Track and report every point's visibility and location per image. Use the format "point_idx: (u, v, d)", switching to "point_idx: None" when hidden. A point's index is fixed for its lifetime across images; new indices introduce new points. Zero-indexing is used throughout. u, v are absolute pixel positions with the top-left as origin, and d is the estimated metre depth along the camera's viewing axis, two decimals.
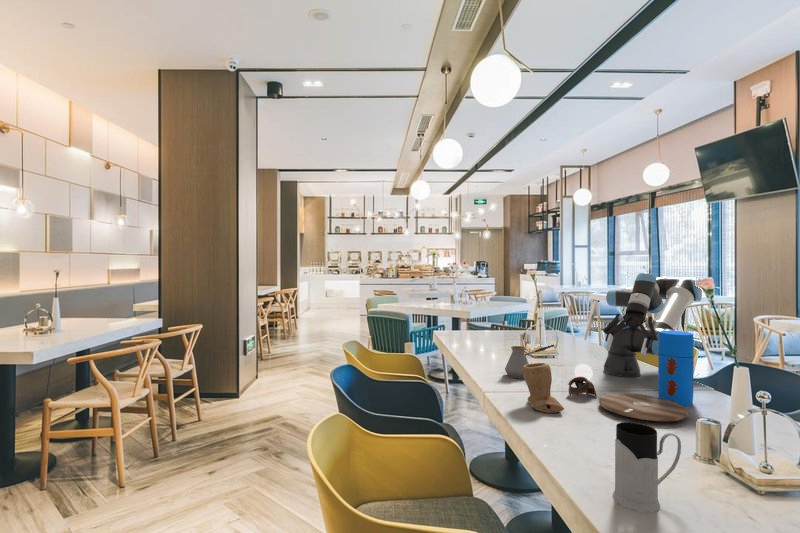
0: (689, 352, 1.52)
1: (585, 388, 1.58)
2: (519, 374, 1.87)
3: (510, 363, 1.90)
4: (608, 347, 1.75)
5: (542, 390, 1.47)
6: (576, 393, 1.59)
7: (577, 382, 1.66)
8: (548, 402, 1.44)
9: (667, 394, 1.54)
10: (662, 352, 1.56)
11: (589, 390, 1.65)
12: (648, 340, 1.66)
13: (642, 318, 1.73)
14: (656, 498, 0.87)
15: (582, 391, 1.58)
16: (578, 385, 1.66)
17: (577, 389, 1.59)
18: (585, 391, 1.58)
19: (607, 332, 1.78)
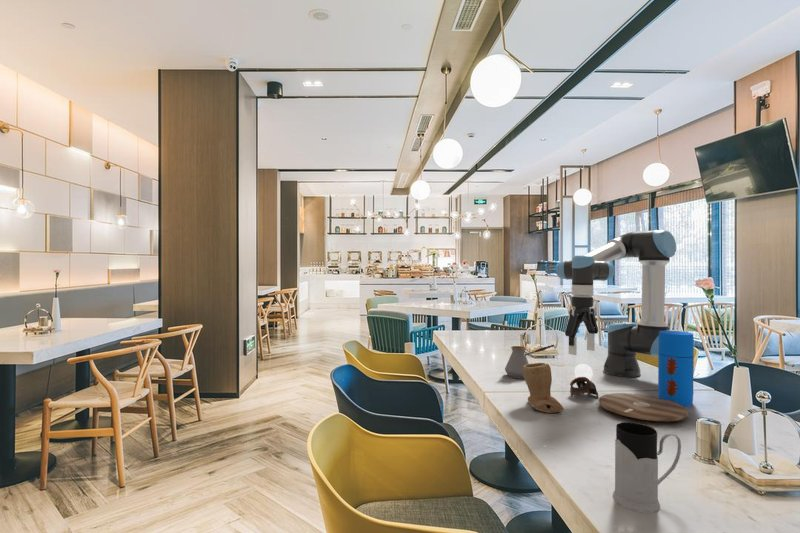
0: (689, 352, 1.52)
1: (587, 388, 1.58)
2: (519, 374, 1.87)
3: (510, 363, 1.90)
4: (590, 348, 1.68)
5: (542, 390, 1.47)
6: (578, 393, 1.59)
7: (579, 382, 1.66)
8: (548, 402, 1.44)
9: (667, 394, 1.54)
10: (662, 352, 1.56)
11: (591, 390, 1.64)
12: None
13: None
14: (656, 498, 0.87)
15: (584, 391, 1.58)
16: (579, 385, 1.66)
17: (579, 389, 1.59)
18: (587, 391, 1.58)
19: None
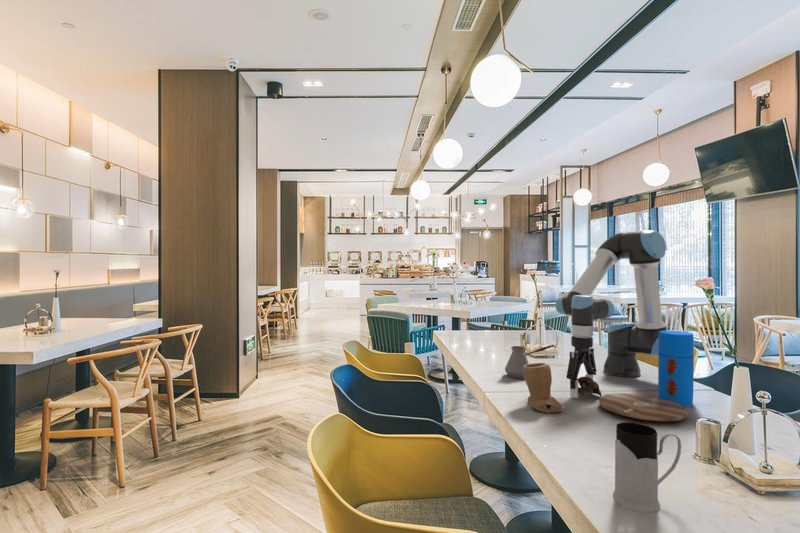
0: (689, 352, 1.52)
1: (590, 388, 1.58)
2: (519, 374, 1.87)
3: (510, 363, 1.90)
4: None
5: (542, 390, 1.47)
6: (581, 393, 1.58)
7: (581, 382, 1.65)
8: (548, 402, 1.44)
9: (667, 394, 1.54)
10: (662, 352, 1.56)
11: (593, 390, 1.64)
12: None
13: None
14: (656, 498, 0.87)
15: (587, 391, 1.57)
16: (582, 385, 1.66)
17: (582, 389, 1.58)
18: (590, 391, 1.57)
19: None
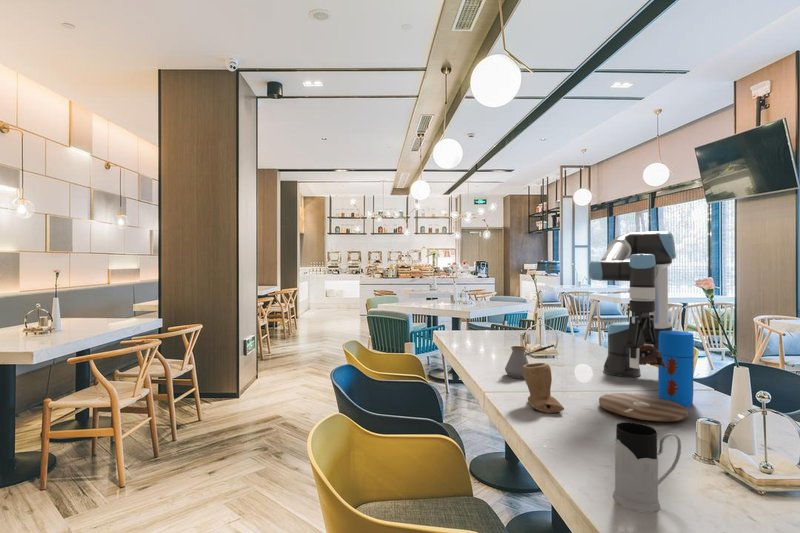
0: (689, 352, 1.52)
1: (654, 357, 1.39)
2: (519, 374, 1.87)
3: (510, 363, 1.90)
4: None
5: (542, 390, 1.47)
6: (643, 363, 1.40)
7: (640, 352, 1.47)
8: (548, 402, 1.44)
9: (667, 394, 1.54)
10: (662, 352, 1.56)
11: None
12: None
13: None
14: (656, 498, 0.87)
15: (651, 360, 1.39)
16: (641, 355, 1.48)
17: (645, 358, 1.40)
18: (654, 360, 1.39)
19: None
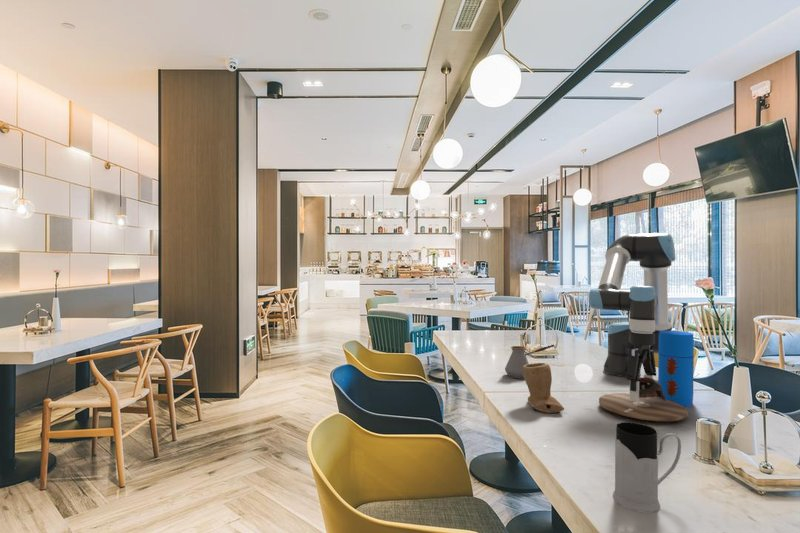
0: (689, 352, 1.52)
1: (654, 390, 1.39)
2: (519, 374, 1.87)
3: (510, 363, 1.90)
4: None
5: (542, 390, 1.47)
6: (643, 396, 1.40)
7: (640, 383, 1.47)
8: (548, 402, 1.44)
9: (667, 394, 1.54)
10: (662, 352, 1.56)
11: None
12: None
13: None
14: (656, 498, 0.87)
15: (651, 394, 1.39)
16: (641, 387, 1.47)
17: (645, 392, 1.40)
18: (654, 394, 1.39)
19: None
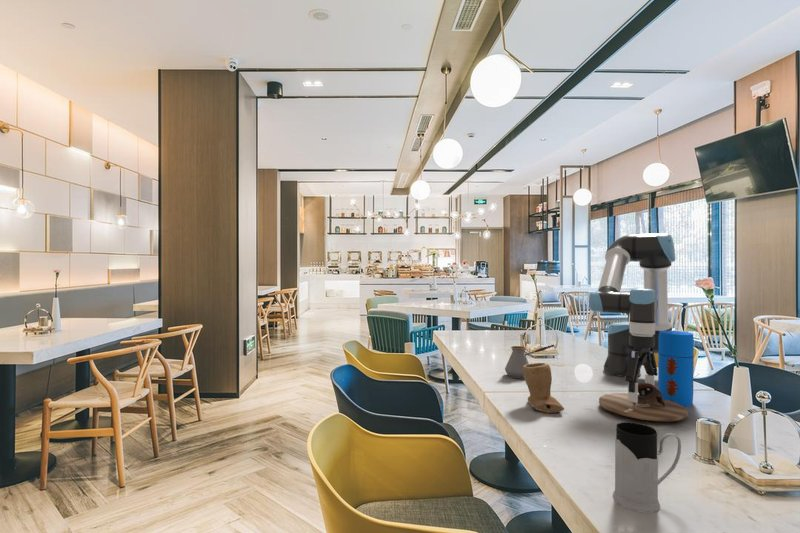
0: (689, 352, 1.52)
1: (654, 396, 1.39)
2: (519, 374, 1.87)
3: (510, 363, 1.90)
4: None
5: (542, 390, 1.47)
6: (643, 402, 1.40)
7: (640, 389, 1.47)
8: (548, 402, 1.44)
9: (667, 394, 1.54)
10: (662, 352, 1.56)
11: None
12: None
13: None
14: (656, 498, 0.87)
15: (651, 400, 1.39)
16: (641, 392, 1.48)
17: (645, 398, 1.40)
18: (654, 400, 1.39)
19: None
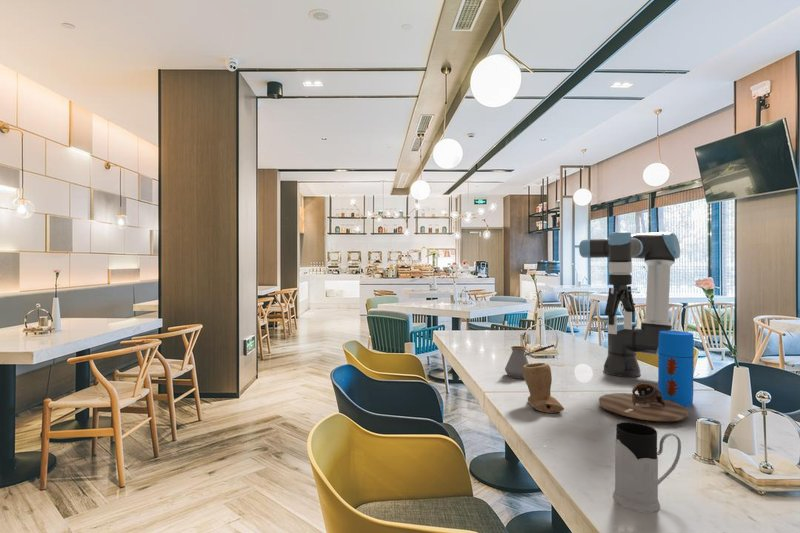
0: (689, 352, 1.52)
1: (654, 396, 1.39)
2: (519, 374, 1.87)
3: (510, 363, 1.90)
4: (627, 326, 1.64)
5: (542, 390, 1.47)
6: (643, 402, 1.40)
7: (640, 389, 1.47)
8: (548, 402, 1.44)
9: (667, 394, 1.54)
10: (662, 352, 1.56)
11: None
12: None
13: None
14: (656, 498, 0.87)
15: (651, 400, 1.39)
16: (641, 393, 1.48)
17: (645, 398, 1.40)
18: (654, 400, 1.39)
19: None
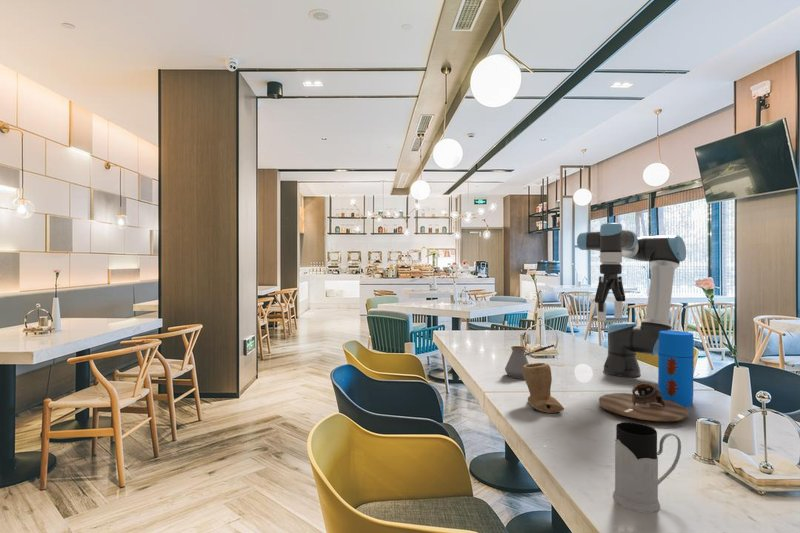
0: (689, 352, 1.52)
1: (654, 396, 1.39)
2: (519, 374, 1.87)
3: (510, 363, 1.90)
4: (617, 315, 1.70)
5: (542, 390, 1.47)
6: (643, 402, 1.40)
7: (640, 389, 1.47)
8: (548, 402, 1.44)
9: (667, 394, 1.54)
10: (662, 352, 1.56)
11: None
12: None
13: None
14: (656, 498, 0.87)
15: (651, 400, 1.39)
16: (641, 393, 1.48)
17: (645, 398, 1.40)
18: (654, 400, 1.39)
19: None
